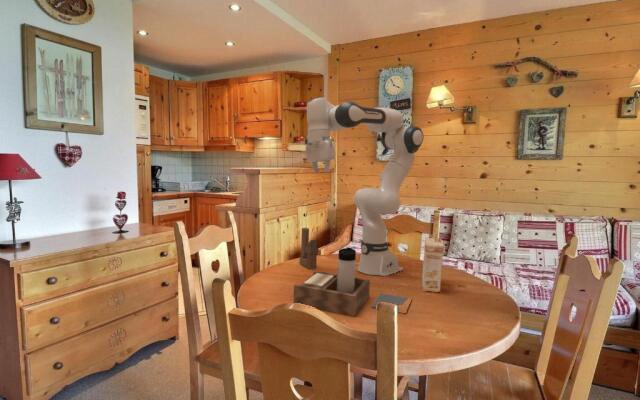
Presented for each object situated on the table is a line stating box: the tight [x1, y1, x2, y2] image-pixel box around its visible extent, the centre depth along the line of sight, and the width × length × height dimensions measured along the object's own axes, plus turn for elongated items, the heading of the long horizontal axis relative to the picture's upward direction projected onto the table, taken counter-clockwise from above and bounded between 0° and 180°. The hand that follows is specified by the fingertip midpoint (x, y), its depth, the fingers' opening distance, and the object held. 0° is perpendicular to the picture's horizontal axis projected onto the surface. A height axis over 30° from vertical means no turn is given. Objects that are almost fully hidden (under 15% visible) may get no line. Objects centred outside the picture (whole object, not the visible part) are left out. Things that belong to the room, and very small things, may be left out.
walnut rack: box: [293, 270, 371, 317], centre depth 132 cm, size 23×19×7 cm
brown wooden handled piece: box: [299, 227, 318, 270], centre depth 173 cm, size 4×11×18 cm, turn 32°
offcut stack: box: [303, 273, 334, 289], centre depth 134 cm, size 8×13×8 cm, turn 158°
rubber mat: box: [371, 292, 409, 312], centre depth 131 cm, size 14×12×1 cm
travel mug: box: [337, 247, 357, 294], centre depth 130 cm, size 6×7×20 cm
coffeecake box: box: [421, 237, 445, 292], centre depth 151 cm, size 15×7×20 cm, turn 164°
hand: (321, 172), depth 146 cm, fingers open, 8 cm apart
